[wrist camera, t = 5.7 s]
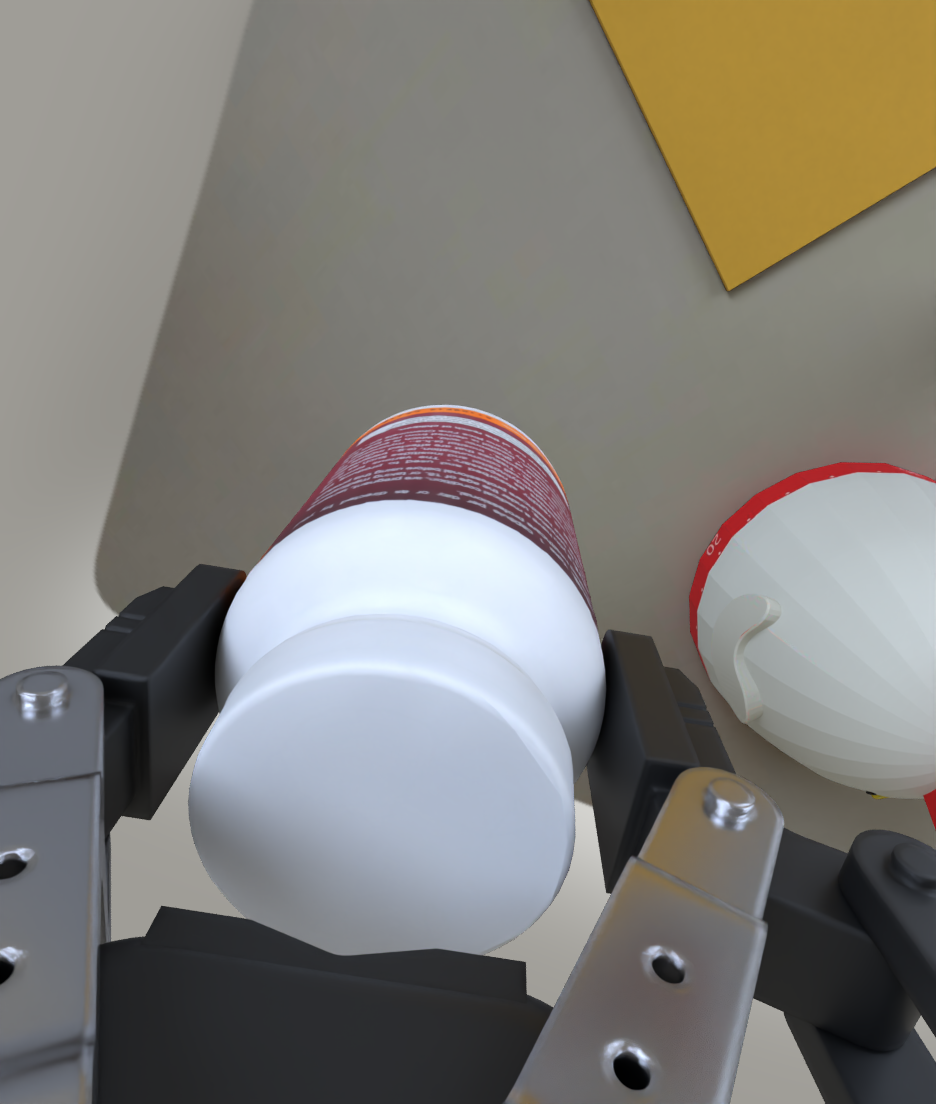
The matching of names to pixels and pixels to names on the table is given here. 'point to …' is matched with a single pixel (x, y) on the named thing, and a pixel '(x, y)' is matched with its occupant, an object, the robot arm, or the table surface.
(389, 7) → the table surface
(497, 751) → the pill bottle
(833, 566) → the kitchen timer
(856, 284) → the table surface
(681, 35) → the cloth
